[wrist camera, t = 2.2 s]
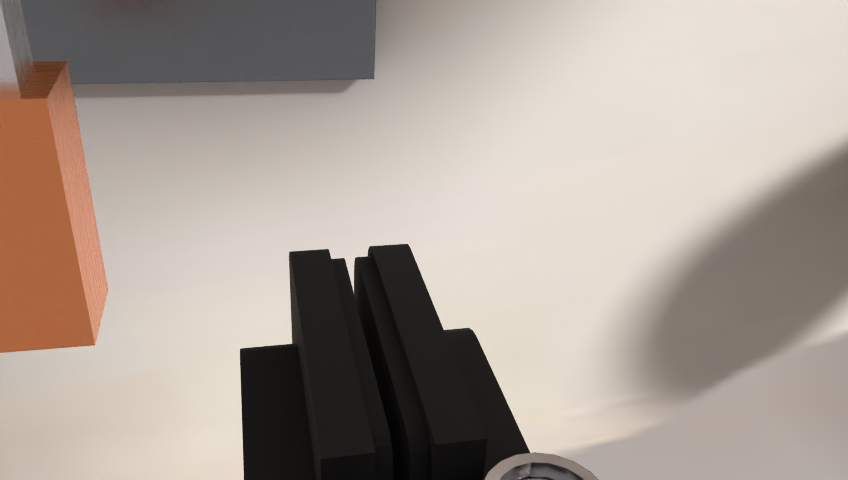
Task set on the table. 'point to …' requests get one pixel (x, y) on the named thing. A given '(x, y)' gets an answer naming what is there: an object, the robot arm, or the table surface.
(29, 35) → the valve body
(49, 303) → the valve lever
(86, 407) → the table surface
